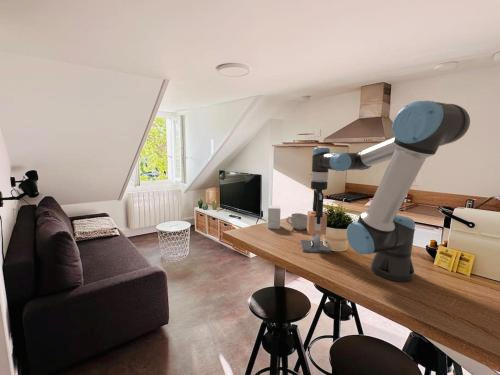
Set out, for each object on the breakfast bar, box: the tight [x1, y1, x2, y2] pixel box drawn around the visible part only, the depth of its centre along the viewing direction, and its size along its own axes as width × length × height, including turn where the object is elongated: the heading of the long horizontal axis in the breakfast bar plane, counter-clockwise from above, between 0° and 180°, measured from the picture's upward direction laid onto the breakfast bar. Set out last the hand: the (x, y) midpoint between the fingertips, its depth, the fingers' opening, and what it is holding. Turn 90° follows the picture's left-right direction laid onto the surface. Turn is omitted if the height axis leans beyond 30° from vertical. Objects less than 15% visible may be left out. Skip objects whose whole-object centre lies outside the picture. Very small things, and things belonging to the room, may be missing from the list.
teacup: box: [285, 212, 308, 231], centre depth 154 cm, size 14×11×8 cm
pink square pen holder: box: [306, 210, 328, 236], centre depth 123 cm, size 8×8×9 cm
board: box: [300, 234, 332, 254], centre depth 125 cm, size 12×13×7 cm
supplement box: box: [267, 205, 281, 230], centre depth 155 cm, size 7×7×13 cm
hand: (316, 227), depth 124 cm, fingers closed on pink square pen holder, 8 cm apart
